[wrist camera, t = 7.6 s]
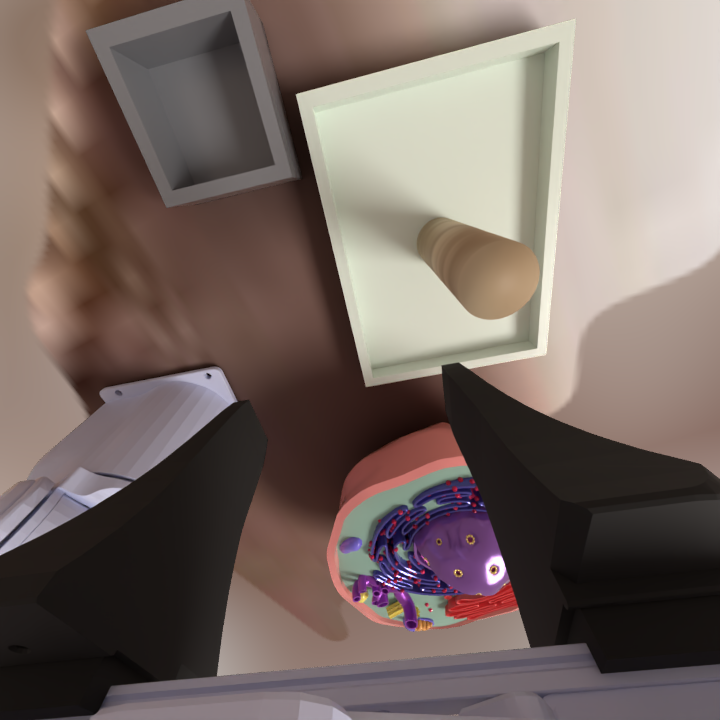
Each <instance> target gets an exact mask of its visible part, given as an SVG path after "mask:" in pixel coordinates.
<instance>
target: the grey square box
mask: <svg viewBox="0 0 720 720" xmlns="http://www.w3.org/2000/svg"><path fill="white" fill-rule="evenodd" d="M86 33H87V35H88V37H89V39H90V41H91V44H92V46H93V48H94V50H95V52H96V55H97V57H98V59H99V61H100V63H101V65H102V68H103V70H104V72H105V74H106V76H107V79H108V81H109V83H110V85H111V87H112V90H113V92H114V94H115V96H116V98H117V101H118V103H119V105H120V107H121V109H122V111H123V114H124V116H125V118H126V120H127V122H128V125H129V127H130V129H131V131H132V133H133V136H134V138H135V140H136V142H137V144H138V146H139V149H140V151H141V153H142V155H143V157H144V160H145V162H146V164H147V166H148V168H149V171H150V173H151V175H152V177H153V179H154V181H155V184H156V186H157V188H158V190H159V192H160V195H161V197H162V199H163V201H164V203H165V206H166V208H170V207H179V206H188V205H197V204H201V203H205V202H209V201H213V200H217V199H222V198H226V197H230V196H234V195H238V194H242V193H246V192H250V191H254V190H258V189H262V188H266V187H271V186H275V185H279V184H283V183H287V182H291V181H295V180H299V179H303V178H302V174H301V170H300V166H299V162H298V159H297V155H296V151H295V147H294V143H293V139H292V135H291V131H290V127H289V124H288V120H287V116H286V112H285V108H284V104H283V100H282V96H281V92H280V89H279V85H278V81H277V77H276V73H275V69H274V65H273V61H272V57H271V54H270V50H269V46H268V42H267V38H266V34H265V30H264V26H263V23H262V21H261V19H260V18H259V16H258V14H257V12H256V11H255V9H254V7H253V5H252V4H251V2H250V0H183V1H179V2H176V3H173V4H170V5H167V6H163V7H160V8H157V9H154V10H150V11H147V12H144V13H141V14H137V15H134V16H131V17H128V18H125V19H121V20H118V21H115V22H112V23H108V24H105V25H102V26H99V27H95V28H92V29H89V30H86Z"/></svg>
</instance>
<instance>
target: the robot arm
mask: <svg viewBox="0 0 720 720" xmlns="http://www.w3.org/2000/svg"><path fill="white" fill-rule="evenodd" d="M441 367H442V378H443V388H444V399H445V409H446V413H447V417H448V420H449V423H450V426H451V429H452V433H453V435H454V438H455V440H456V442H457V444H458V446H459V449H460V451H461V453H462V455H463V457H464V459H465V462H466V464H467V466H468V468H469V470H470V472H471V475H472V477H473V479H474V481H475V483H476V485H477V488H478V490H479V492H480V495H481V497H482V500H483V502H484V505H485V508H486V511H487V514H488V517H489V520H490V522H491V525H492V528H493V531H494V534H495V537H496V540H497V543H498V546H499V549H500V552H501V555H502V558H503V561H504V564H505V567H506V570H507V573H508V577H509V580H510V583H511V586H512V589H513V592H514V595H515V598H516V602H517V605H518V608H519V611H520V615H521V618H522V621H523V624H524V628H525V631H526V634H527V637H528V640H529V644H530V647H531V648H524V649H513V650H502V651H491V652H480V653H469V654H458V655H447V656H436V657H425V658H414V659H403V660H393V661H382V662H371V663H360V664H348V665H337V666H326V667H315V668H304V669H293V670H283V671H271V672H259V673H249V674H238V675H227V676H217V669H218V662H219V654H220V646H221V637H222V631H223V625H224V619H225V612H226V606H227V600H228V594H229V589H230V584H231V578H232V573H233V568H234V563H235V559H236V554H237V550H238V545H239V541H240V536H241V533H242V529H243V526H244V522H245V519H246V516H247V513H248V510H249V507H250V504H251V501H252V498H253V495H254V492H255V489H256V486H257V483H258V480H259V477H260V474H261V471H262V468H263V464H264V459H265V454H266V448H267V442H268V439H267V437H266V435H265V433H264V431H263V429H262V427H261V424H260V422H259V420H258V418H257V416H256V414H255V412H254V409H253V407H252V405H251V403H250V401H249V400H244V401H239V402H238V401H237V399H236V397H235V395H234V393H233V391H232V389H231V387H230V385H229V383H228V381H227V379H226V377H225V375H224V373H223V371H222V370H221V369H220V368H219V367H209V368H204V369H198V370H193V371H188V372H183V373H178V374H173V375H167V376H162V377H157V378H152V379H147V380H142V381H136V382H131V383H126V384H121V385H116V386H111V387H106V388H103V389H102V390H101V391H100V396H101V398H102V399H103V400H104V402H105V404H104V405H103V406H101V407H100V408H99V409H98V410H97V411H96V412H94V413H93V414H92V415H91V416H90V417H89V418H87V419H86V420H85V421H84V422H83V423H81V424H80V425H79V426H78V427H77V428H76V429H74V430H73V431H72V432H71V433H70V434H69V435H67V436H66V437H65V438H64V439H63V440H62V441H60V442H59V443H58V444H57V445H56V446H55V447H54V448H52V449H51V450H50V451H49V452H48V453H46V454H45V455H44V456H43V457H42V458H41V459H40V460H39V461H38V462H37V464H36V465H35V466H34V468H33V469H32V471H31V473H30V474H29V476H28V478H27V480H26V481H20V482H18V483H16V484H15V485H13V486H12V487H11V488H9V489H8V490H7V491H6V492H4V493H3V494H2V495H1V496H0V720H720V479H719V478H718V477H717V476H715V475H714V474H713V473H712V472H710V471H709V470H708V469H706V468H705V467H704V466H702V465H701V464H699V463H695V462H691V461H687V460H682V459H678V458H674V457H671V456H666V455H662V454H658V453H654V452H650V451H646V450H642V449H639V448H636V447H632V446H629V445H626V444H622V443H619V442H616V441H612V440H609V439H606V438H603V437H600V436H597V435H594V434H591V433H589V432H586V431H583V430H581V429H578V428H575V427H573V426H570V425H568V424H565V423H562V422H560V421H558V420H555V419H553V418H551V417H549V416H547V415H545V414H542V413H540V412H538V411H536V410H534V409H532V408H530V407H528V406H526V405H524V404H522V403H520V402H519V401H517V400H515V399H513V398H511V397H510V396H508V395H506V394H505V393H503V392H501V391H500V390H498V389H497V388H495V387H493V386H492V385H490V384H489V383H487V382H486V381H484V380H483V379H482V378H480V377H479V376H477V375H476V374H475V373H473V372H472V371H470V370H469V369H468V368H466V367H465V366H463V365H462V364H461V363H459V362H457V363H452V364H446V365H441ZM206 373H209V374H210V375H211V376H208V375H207V374H206ZM120 391H121V392H122V393H121V392H120ZM455 714H456V715H457V714H459V715H458V716H456V715H455Z"/></svg>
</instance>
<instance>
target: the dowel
mask: <svg viewBox="0 0 720 720" xmlns="http://www.w3.org/2000/svg"><path fill="white" fill-rule="evenodd" d="M417 250H418V253H419V255H420V257H421V258H422V259H423V260H424V261H425V263H426V264H427V265H428V266H429V267H430V268H431V269H432V271H433V272H434V273H435V274H436V275H437V276H438V278H439V279H440V280H441V281H442V282H443V283H444V285H445V286H446V287H447V288H448V289H449V290H450V292H451V293H452V294H453V295H454V296H455V297H456V299H457V300H458V301H459V302H460V303H461V304H462V306H463V307H464V308H465V309H466V310H467V311H468V312H469V313H470V314H472V315H473V316H475V317H478V318H481V319H486V320H495V319H501V318H504V317H507V316H509V315H512V314H513V313H515V312H517V311H518V310H519V309H521V308H522V307H523V306H524V305H525V304H526V303H527V302H528V301H529V300H530V298H531V297H532V295H533V294H534V292H535V290H536V288H537V285H538V281H539V276H540V269H539V263H538V260H537V258H536V256H535V254H534V253H533V251H532V250H531V249H530V248H529V247H527V246H526V245H524V244H522V243H520V242H517V241H514V240H511V239H508V238H505V237H502V236H499V235H496V234H493V233H490V232H487V231H484V230H481V229H478V228H475V227H472V226H469V225H466V224H464V223H461V222H458V221H455V220H452V219H449V218H444V217H440V218H435V219H433V220H431V221H429V222H428V223H426V224H425V225H424V226H423V228H422V229H421V230H420V232H419V235H418V238H417Z"/></svg>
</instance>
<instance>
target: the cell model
mask: <svg viewBox="0 0 720 720" xmlns="http://www.w3.org/2000/svg"><path fill="white" fill-rule="evenodd" d="M327 561H328V565H329V569H330V573H331V577H332V580H333V583H334V585H335V587H336V589H337V591H338V592H339V593H340V595H341V596H342V597H343V598H344V599H345V600H347V601H348V602H349V603H350V604H351V605H353V606H354V607H355V608H356V609H358V610H359V611H360V612H361V613H362V614H364V615H365V616H366V617H367V618H369V619H371V620H372V621H374V622H377V623H380V624H385V625H391V626H398V627H405V628H406V629H407V630H409V631H413V632H414V630H416V631H420V630H423V631H425V630H428V629H444V628H451V627H458V626H462V625H465V624H468V623H471V622H473V621H477V620H481V619H485V618H490V617H494V616H498V615H502V614H507V613H511V612H514V611H516V610H519V608H518V605H517V602H516V598H515V595H514V592H513V589H512V586H511V583H510V580H509V577H508V573H507V570H506V567H505V564H504V561H503V558H502V555H501V552H500V549H499V546H498V543H497V540H496V537H495V534H494V531H493V528H492V525H491V522H490V520H489V517H488V514H487V511H486V508H485V505H484V502H483V500H482V497H481V495H480V492H479V490H478V488H477V485H476V483H475V481H474V479H473V477H472V475H471V472H470V470H469V468H468V466H467V464H466V462H465V459H464V457H463V455H462V453H461V451H460V449H459V446H458V444H457V442H456V440H455V438H454V435H453V433H452V429H451V426H450V423H444V422H442V423H436V424H433V425H431V426H429V427H427V428H424V429H421V430H418V431H415V432H412V433H410V434H407V435H405V436H402V437H400V438H397V439H395V440H393V441H391V442H389V443H387V444H386V445H384V446H382V447H380V448H379V449H377V450H375V451H374V452H372V453H370V454H368V455H367V456H365V457H364V458H363V459H362V460H361V461H359V462H358V463H357V464H356V465H355V466H354V467H353V468H352V469H351V470H350V472H349V473H348V475H347V477H346V478H345V481H344V484H343V487H342V492H341V498H340V505H339V511H338V514H337V516H336V520H335V524H334V527H333V531H332V534H331V538H330V541H329V545H328V548H327Z"/></svg>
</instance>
